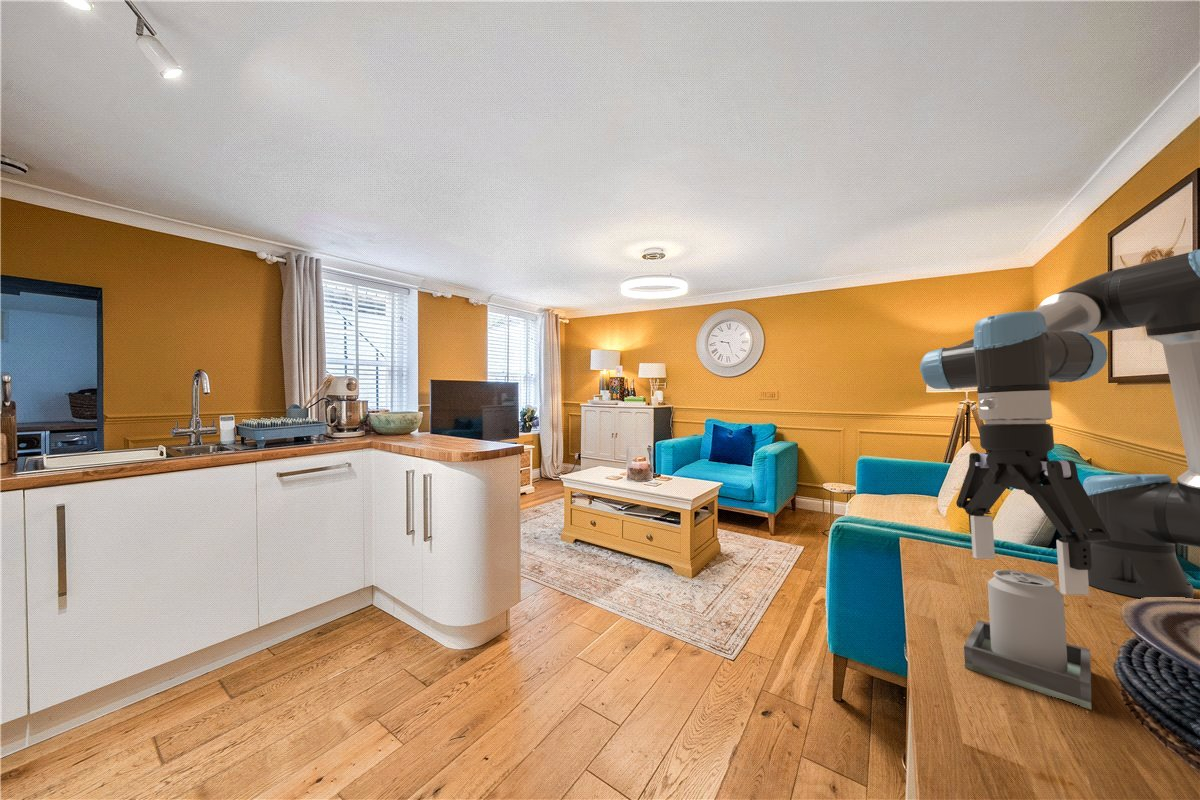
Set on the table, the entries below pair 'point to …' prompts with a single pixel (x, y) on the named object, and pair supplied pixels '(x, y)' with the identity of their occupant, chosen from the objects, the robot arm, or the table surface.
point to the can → (1027, 619)
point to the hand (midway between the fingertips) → (1024, 574)
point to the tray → (1031, 669)
